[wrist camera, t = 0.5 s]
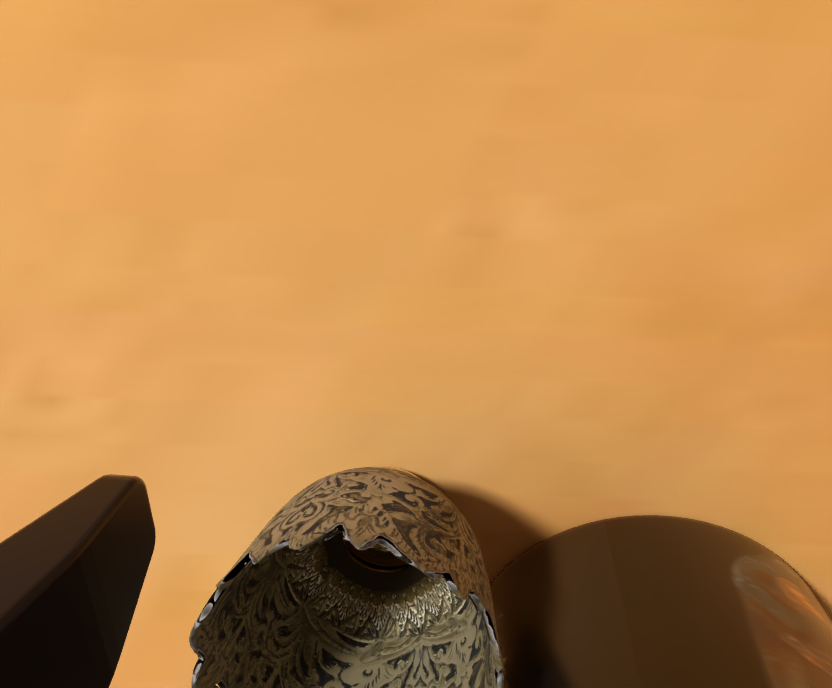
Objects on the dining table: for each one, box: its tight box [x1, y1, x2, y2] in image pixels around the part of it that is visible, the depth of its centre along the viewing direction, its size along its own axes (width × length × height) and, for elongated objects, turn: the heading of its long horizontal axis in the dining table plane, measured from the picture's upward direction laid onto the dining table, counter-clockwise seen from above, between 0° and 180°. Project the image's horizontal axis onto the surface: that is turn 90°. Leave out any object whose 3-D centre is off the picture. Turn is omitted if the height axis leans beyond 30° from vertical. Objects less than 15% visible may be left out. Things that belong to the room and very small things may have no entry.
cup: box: [189, 467, 504, 688], centre depth 22 cm, size 8×7×8 cm
